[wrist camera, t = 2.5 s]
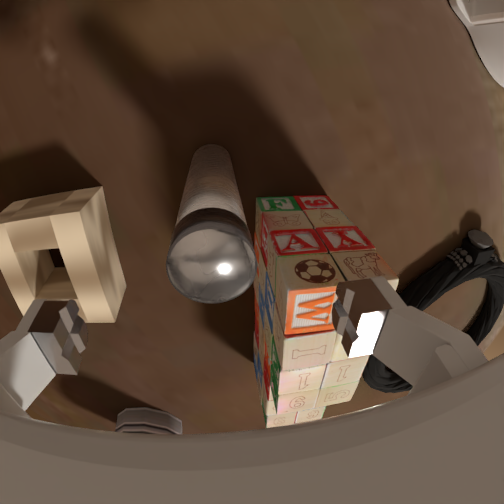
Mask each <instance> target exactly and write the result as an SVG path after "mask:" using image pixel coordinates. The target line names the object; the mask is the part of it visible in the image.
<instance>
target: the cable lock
mask: <svg viewBox="0 0 504 504" xmlns="http://www.w3.org/2000/svg"><path fill="white" fill-rule="evenodd" d="M468 236H469V238H464V239H463V242H462V247H461V248H456V249H455V252H454V251H452V252H451V253H450V255H447V259H446V260H444V261H442V262H440V263H439V264H438V265H436V266H435V267H434V268H433V269H431V270H430V271H428V272H427V273H425V274H424V275H422V276H421V277H419V278H418V279H416V280H415V281H414V282H412V283H411V284H410V285H409V286H408V287H407V288H406V289H405V290H404V291H403V292H402V293H401V294H400V298H401V299H402V300H403V301H404V303H405V304H406V305H407V306H413V307H415V308H417V309H419V310H421V311H423V310H424V309H426V308H427V307H428V306H430V305H431V304H432V303H433V302H435V301H436V300H437V299H438V298H439V297H441V296H442V295H443V294H444V293H445V292H447V291H449V290H451V289H452V288H454V287H456V286H458V285H460V284H462V283H463V282H465V281H468V280H471V279H474V278H479V277H481V278H486V279H487V281H488V282H489V289H488V297H487V300H486V302H485V305H484V307H483V310H482V312H481V314H480V316H479V317H478V318H477V320H476V321H475V323H474V324H473V326H472V327H471V329H470V330H469V332H468V333H467V334H468V335H469V336H470V337H471V338H472V340H473V341H474V342H475V344H476V345H477V346H478V345H479V344H480V343H481V341H482V340H483V339H484V338H485V337H486V336H487V334H488V333H489V332H490V331H491V329H492V327H493V325H494V324H495V322H496V320H497V319H498V317H499V315H500V313H501V311H502V308H503V304H504V263H503V262H502V261H501V260H500V259H499V258H498V256H497V255H496V254H494V251H495V249H494V248H493V247H491V245H493V240H492V239H491V238H490V236H489V235H488V234H487V233H485V232H482V231H478V230H475V229H474V230H471V231H469V232H468ZM372 354H373V353H372ZM372 354H370V355H369V358H368V361H367V363H366V366H365V368H364V370H363V373H362V376H363V378H364V381H365V382H366V383H367V384H368V385H369V386H370V387H371V388H373V389H376V390H379V391H382V392H385V393H387V392H392V393H397V392H403V391H408V390H411V389H412V387H413V386H412V385H411V384H410V383H408V382H407V381H406V380H405V379H403V378H402V377H401V376H399V375H398V374H397V373H395V372H389V371H387V370H386V368H385V364H384V363H382V362H381V361H380V360H379V359H377V358H376V357H375V356H373V355H372Z"/></svg>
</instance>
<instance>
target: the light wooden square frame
mask: <svg viewBox="0 0 504 504" xmlns="http://www.w3.org/2000/svg"><path fill="white" fill-rule="evenodd" d="M55 248H59V249H60V252H61V255H62V258H63V261H64V264H65V266H66V267H55V266H54V264H53V261H52V258H51V255H50V253H49V250H48V249H55ZM0 269H1V271H2V273H3V276H4V278H5V280H6V282H7V284H8V286H9V289H10V291H11V293H12V295H13V297H14V299H15V301H16V303H17V305H18V307H19V308H20V310H21V312H22V314H23V316H24V315H25V313H26V312H27V310H28V308H29V307H30V305H31V303H32V302H33V300H35V299H73V300H75V301H76V303H77V305H78V307H79V312H78V315H79V316H80V317H81V318H82V319H83V320H84V321H85V323H105V322H115V321H116V317H117V314H118V311H119V308H120V304H121V301H122V298H123V295H124V292H125V289H126V283H125V279H124V276H123V272H122V269H121V265H120V261H119V258H118V254H117V250H116V246H115V242H114V238H113V234H112V230H111V225H110V221H109V216H108V212H107V207H106V202H105V197H104V192H103V187H102V186H100V187H93V188H87V189H80V190H74V191H68V192H62V193H56V194H51V195H45V196H40V197H35V198H30V199H25V200H20V201H15V202H13V203H11V204H10V205H9V206H8V207H7V208H5V209H4V210H3V211H2V212H1V213H0Z"/></svg>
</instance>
